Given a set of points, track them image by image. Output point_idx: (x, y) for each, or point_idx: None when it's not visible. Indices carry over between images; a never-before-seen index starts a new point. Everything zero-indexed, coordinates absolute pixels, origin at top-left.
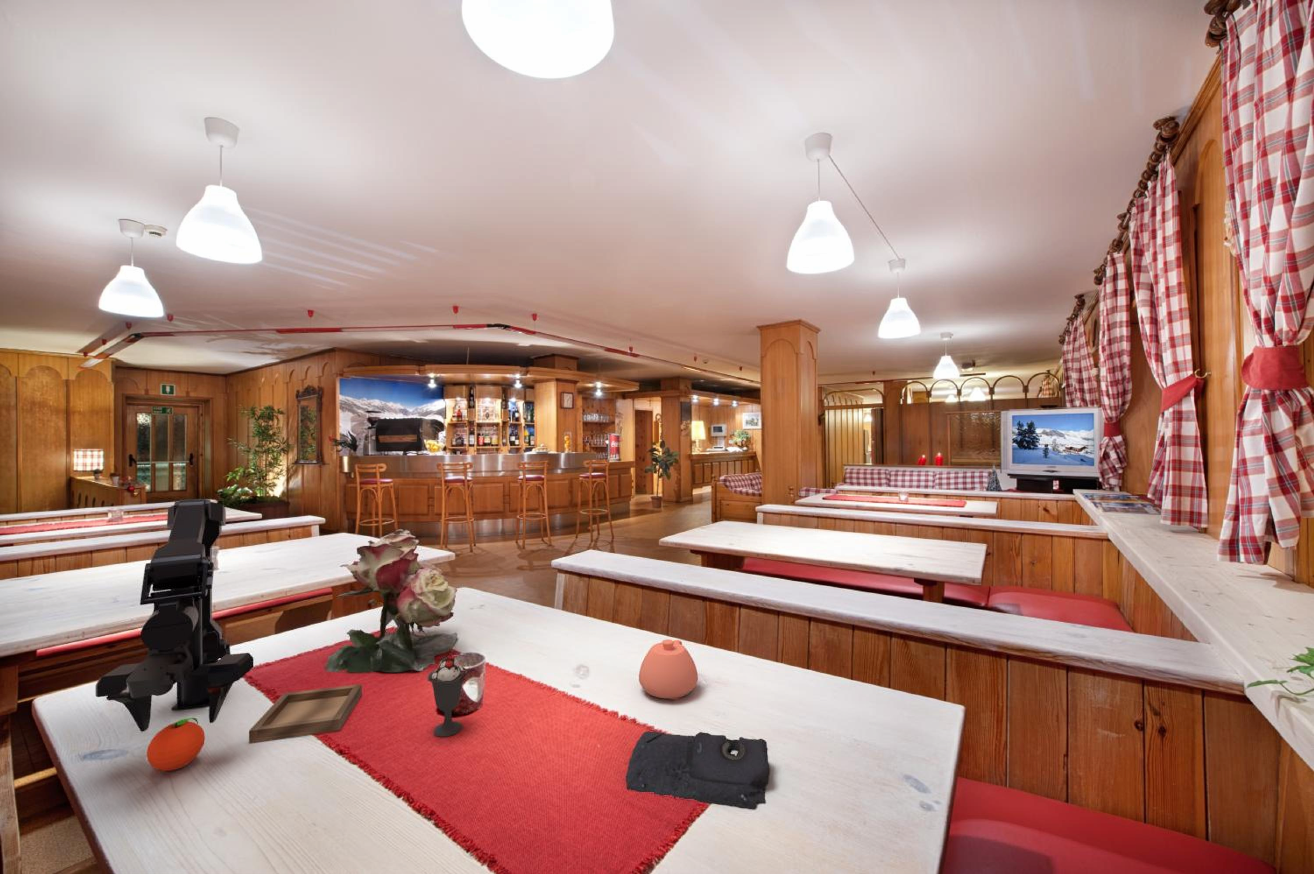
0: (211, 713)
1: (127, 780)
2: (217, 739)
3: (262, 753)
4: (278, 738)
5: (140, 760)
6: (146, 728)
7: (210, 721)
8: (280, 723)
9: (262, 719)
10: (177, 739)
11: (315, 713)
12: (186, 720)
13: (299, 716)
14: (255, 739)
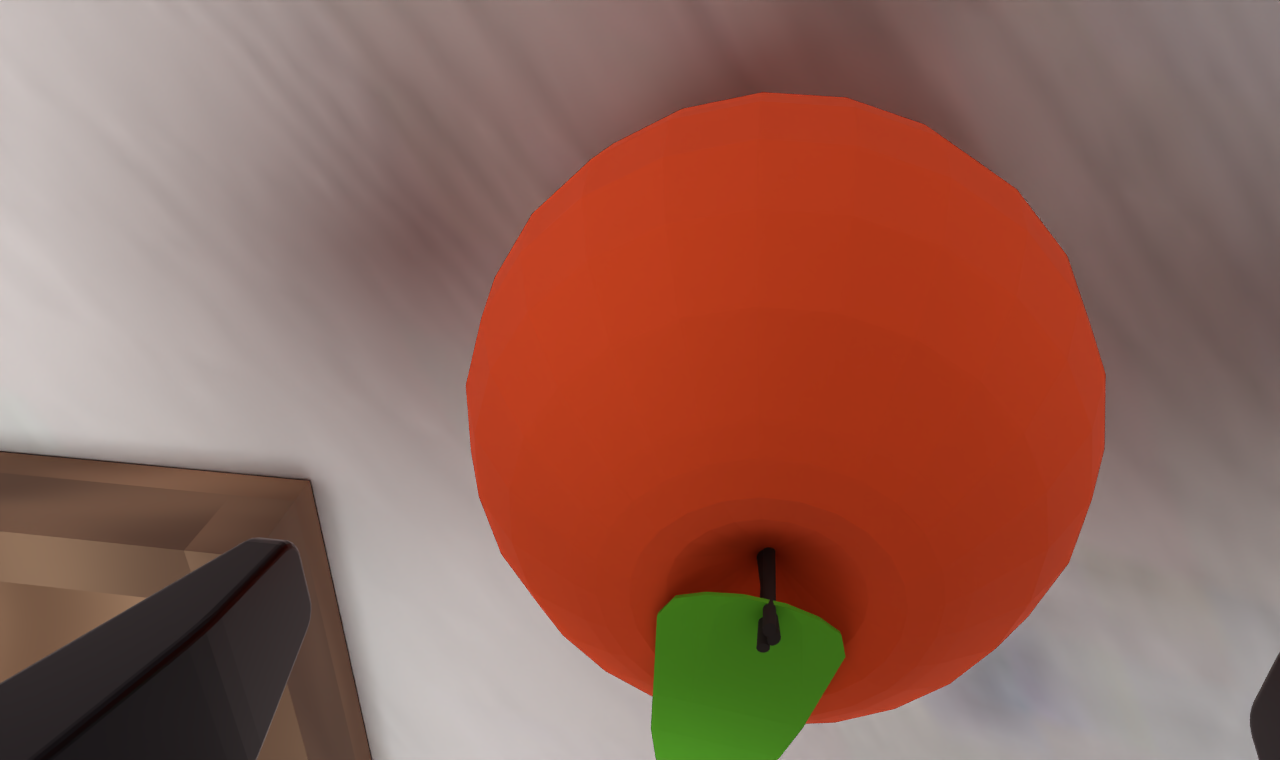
0: (136, 641)
1: (1194, 168)
2: None
3: (54, 258)
4: (84, 461)
5: (1186, 520)
6: (1272, 702)
7: (267, 552)
8: None
9: None
10: (629, 284)
11: None
12: (670, 692)
13: None
14: (247, 490)
